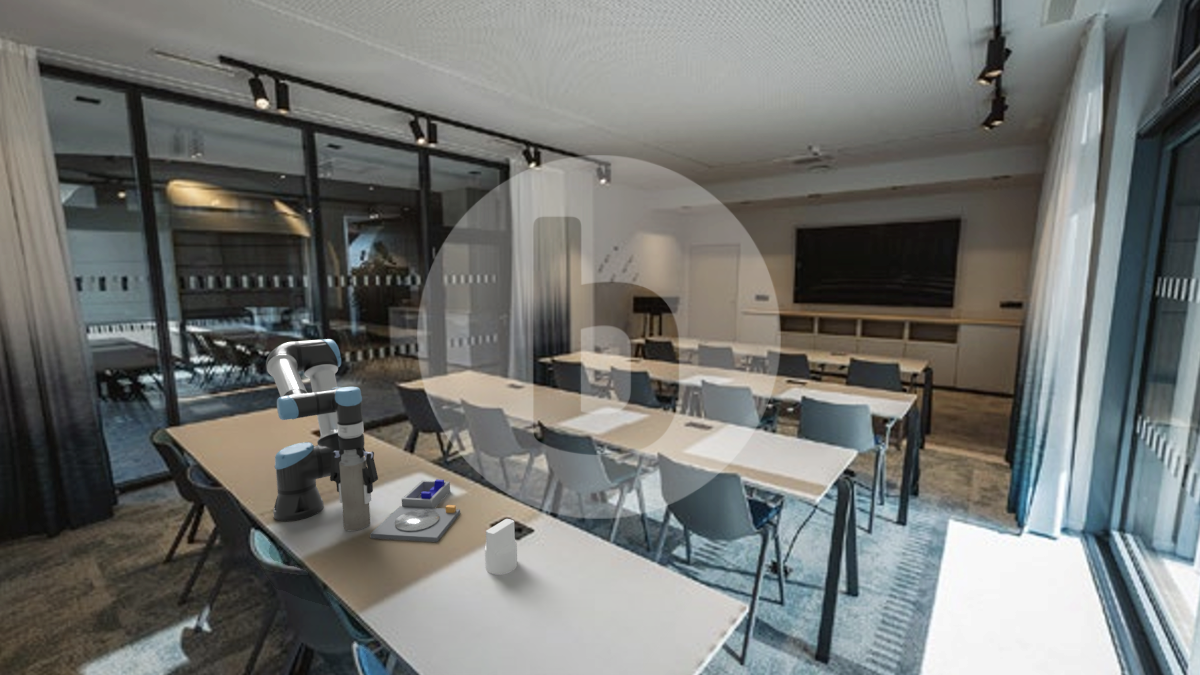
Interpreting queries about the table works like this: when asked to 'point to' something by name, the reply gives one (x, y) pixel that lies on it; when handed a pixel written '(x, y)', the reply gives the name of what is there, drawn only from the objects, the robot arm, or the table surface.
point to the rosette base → (416, 523)
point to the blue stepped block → (432, 490)
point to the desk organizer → (414, 501)
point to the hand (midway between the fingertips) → (355, 501)
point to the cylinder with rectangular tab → (501, 548)
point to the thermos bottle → (353, 491)
